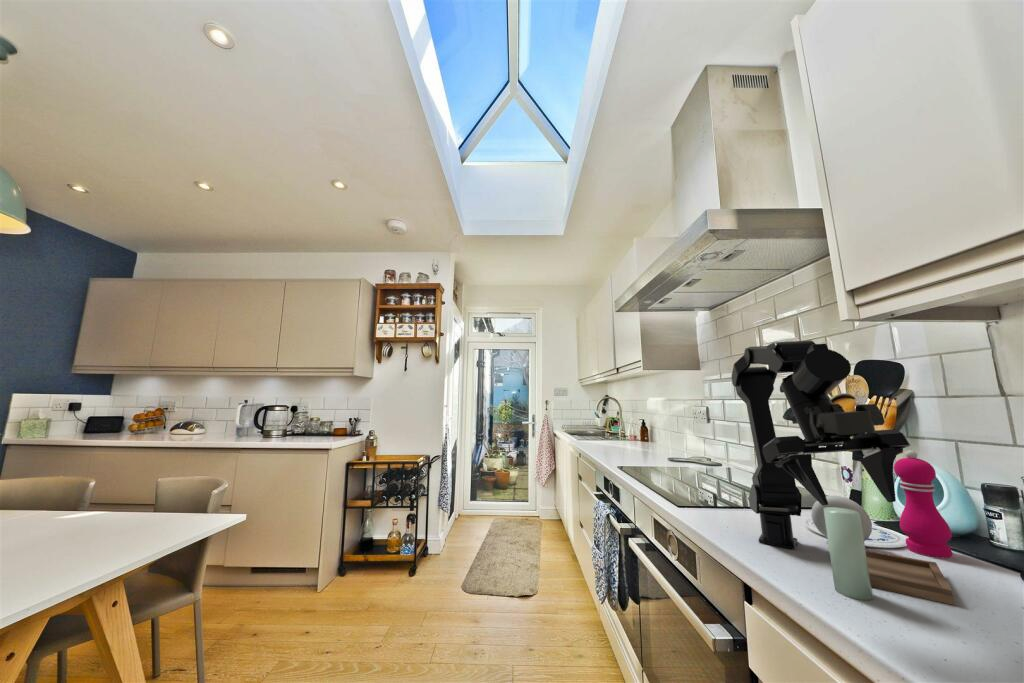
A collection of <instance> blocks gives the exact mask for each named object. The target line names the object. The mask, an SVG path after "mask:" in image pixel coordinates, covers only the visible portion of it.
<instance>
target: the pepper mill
mask: <svg viewBox="0 0 1024 683" xmlns="http://www.w3.org/2000/svg"><path fill="white" fill-rule="evenodd" d="M904 455H905V457H902V458H900V459H898V460H896V461H894V462H895V463H893V472H894V473H895V474H896V476H897V477H899V479H900V480H899V484H900V485H899V486H900V488H901V489H903V493H904V495H905V503H904V504H905V505H904V508H903V510H902V512H901V514H900V518H899V528H900V530H901V531H902V533H903V534H905V535H906V536H907V538H905V545H906V544H907V546H906V548H907V550H908V551H910V552H913V553H914V554H915V553H916V554H918V555H923V556H926V557H932V558H937V559H950V558H952V557H953V553H952V547H951V546H950V545H948V544H947V542H949V541H950V540H951V539H952V537H953V534H952V531H951V530H952V529H951V528H950V526H949V524H948V522H947V521H946V519H945V518H944V517H943V516H942V514H941V513H940V511H939V510H938V509H937V506H936V504H935V500H934V494H933V492H936V489H935V484H934V483H932V482H933V481H934V480H935V479H936V476H937V474H936V470H935V468H934V467H933V465H932V464H931V463H929V462H928V461H926V460H923V459H920V458H918V453H917V452H916V451H914V450H912V449H909V450H906V451H905V453H904Z"/></svg>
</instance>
